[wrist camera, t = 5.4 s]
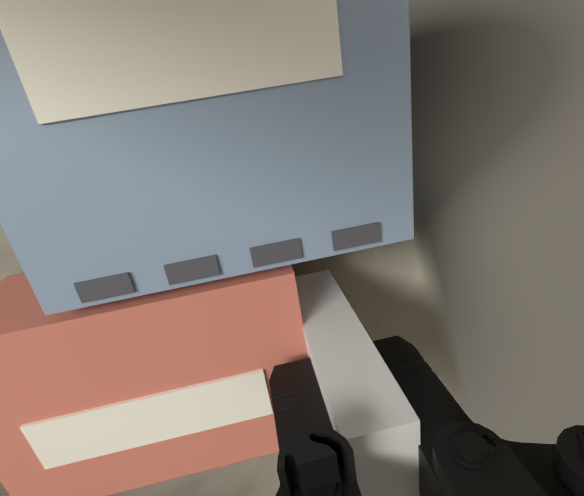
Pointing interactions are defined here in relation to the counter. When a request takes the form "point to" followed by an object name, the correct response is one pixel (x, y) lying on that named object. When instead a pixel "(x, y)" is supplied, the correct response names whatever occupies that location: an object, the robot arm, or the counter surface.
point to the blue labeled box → (199, 139)
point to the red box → (141, 383)
